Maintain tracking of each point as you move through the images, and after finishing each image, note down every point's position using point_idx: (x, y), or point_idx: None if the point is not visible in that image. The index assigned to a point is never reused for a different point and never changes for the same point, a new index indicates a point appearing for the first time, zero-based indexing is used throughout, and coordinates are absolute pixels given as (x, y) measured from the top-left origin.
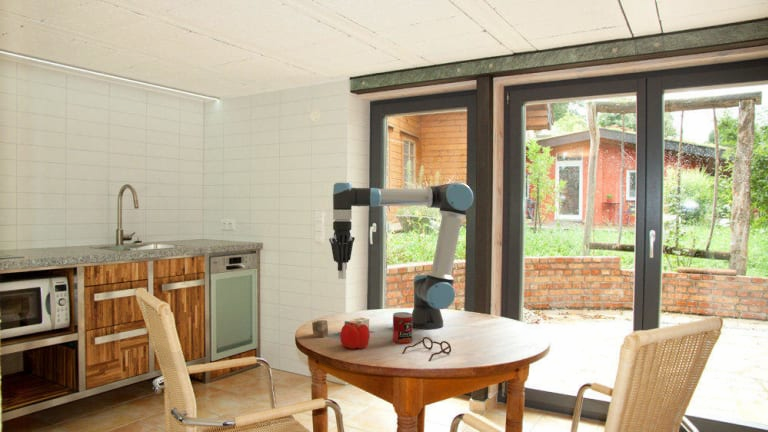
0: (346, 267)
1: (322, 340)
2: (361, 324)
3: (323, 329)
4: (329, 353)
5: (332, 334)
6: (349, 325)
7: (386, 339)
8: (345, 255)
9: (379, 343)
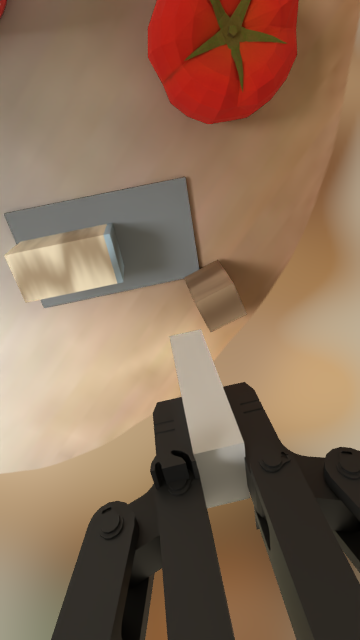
0: (154, 423)
1: (233, 238)
2: (59, 240)
3: (217, 274)
4: (333, 58)
5: (169, 274)
6: (256, 57)
7: (15, 77)
8: (220, 576)
9: (83, 37)
